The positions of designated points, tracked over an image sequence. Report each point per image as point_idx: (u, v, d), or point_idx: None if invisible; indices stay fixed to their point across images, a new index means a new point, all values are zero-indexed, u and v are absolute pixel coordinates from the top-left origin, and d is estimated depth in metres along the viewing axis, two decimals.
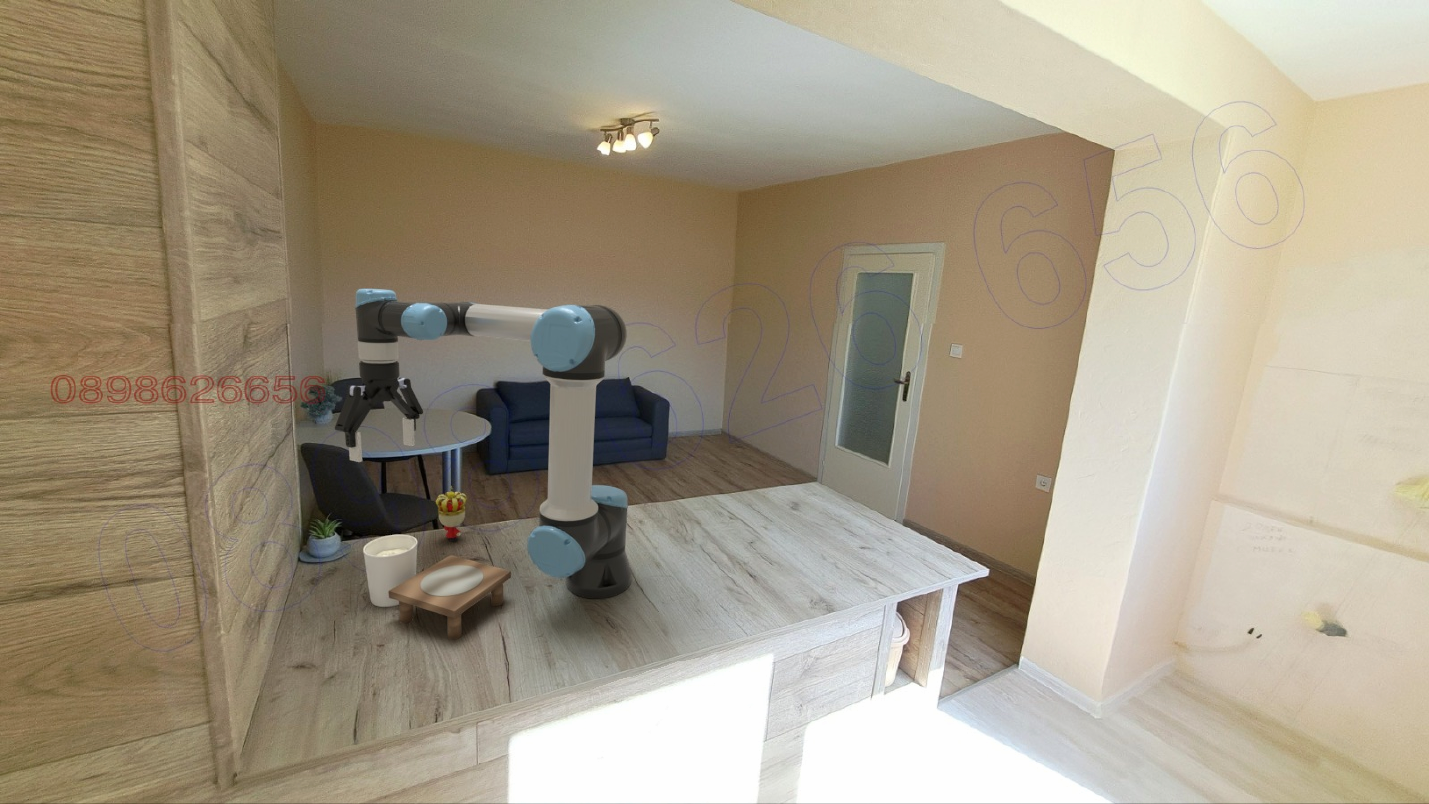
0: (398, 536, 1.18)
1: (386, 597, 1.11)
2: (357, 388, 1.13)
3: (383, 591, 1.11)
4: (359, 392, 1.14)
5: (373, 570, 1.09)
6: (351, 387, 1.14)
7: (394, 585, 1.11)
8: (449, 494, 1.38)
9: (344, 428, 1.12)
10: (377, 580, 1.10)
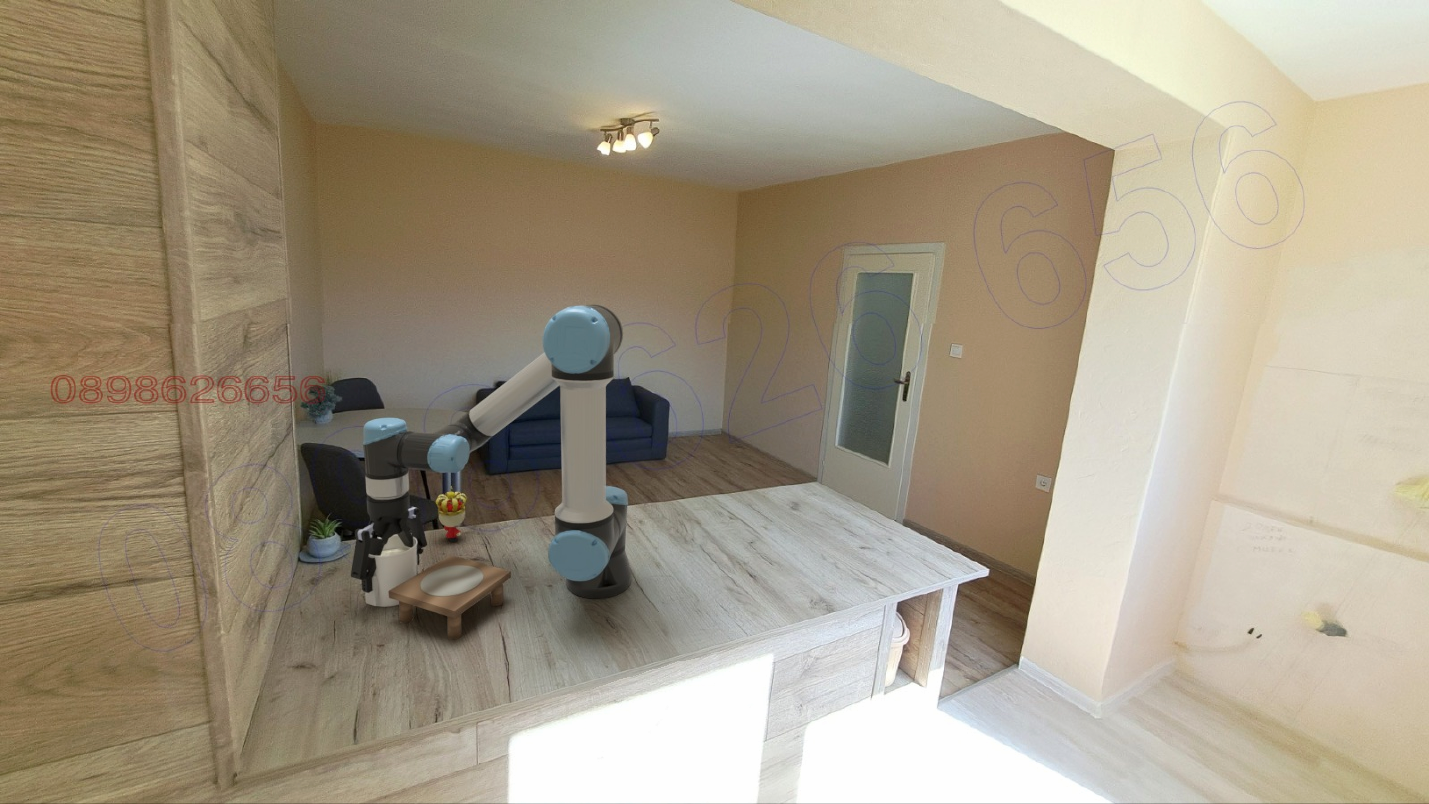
0: (398, 536, 1.18)
1: (386, 597, 1.11)
2: (365, 533, 1.06)
3: (383, 591, 1.11)
4: (368, 536, 1.06)
5: None
6: (358, 532, 1.06)
7: (394, 585, 1.11)
8: (449, 494, 1.38)
9: (360, 576, 1.06)
10: None
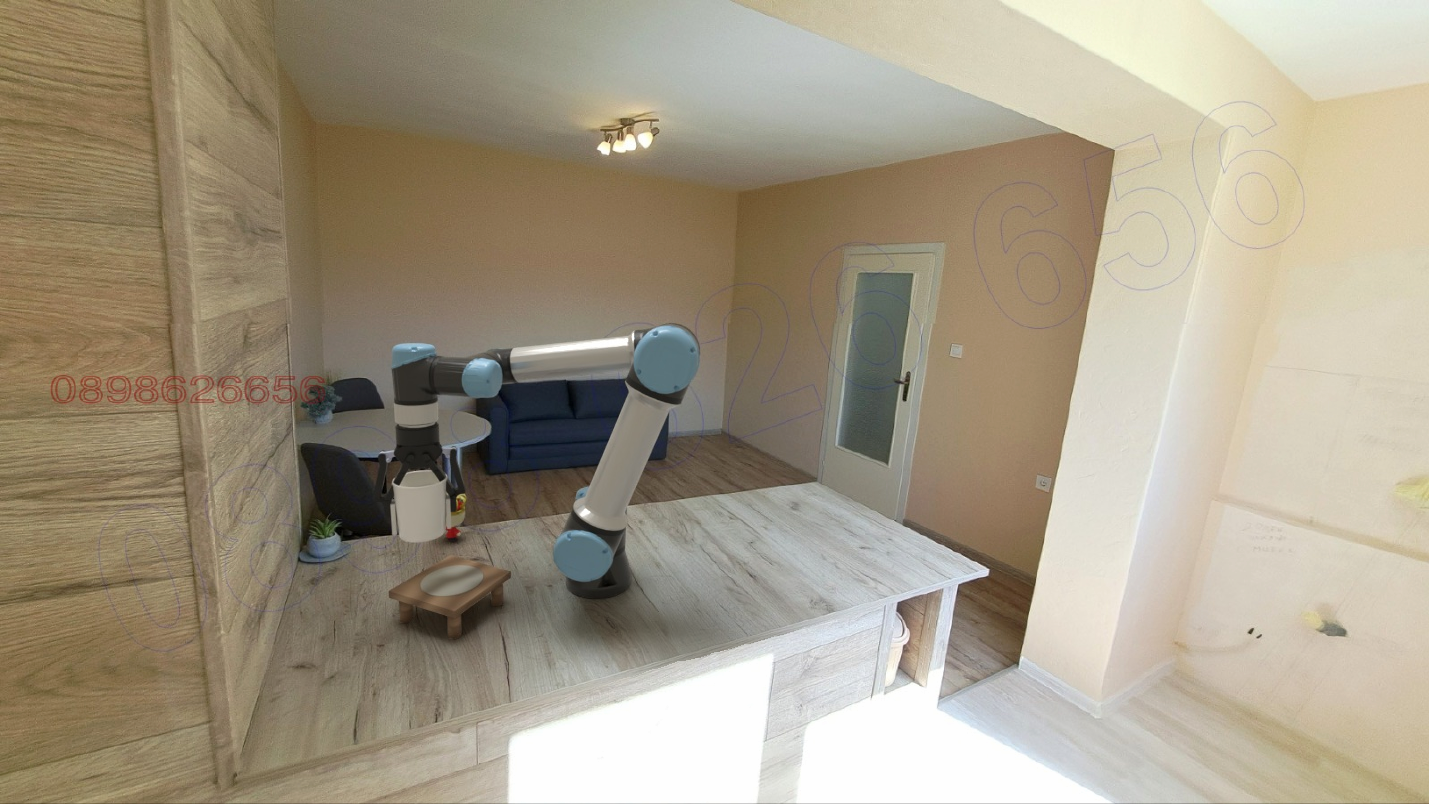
0: None
1: (401, 530, 1.06)
2: (379, 456, 1.03)
3: (399, 522, 1.06)
4: (383, 459, 1.03)
5: (394, 497, 1.06)
6: (379, 454, 1.04)
7: (405, 519, 1.05)
8: None
9: (373, 498, 1.04)
10: None
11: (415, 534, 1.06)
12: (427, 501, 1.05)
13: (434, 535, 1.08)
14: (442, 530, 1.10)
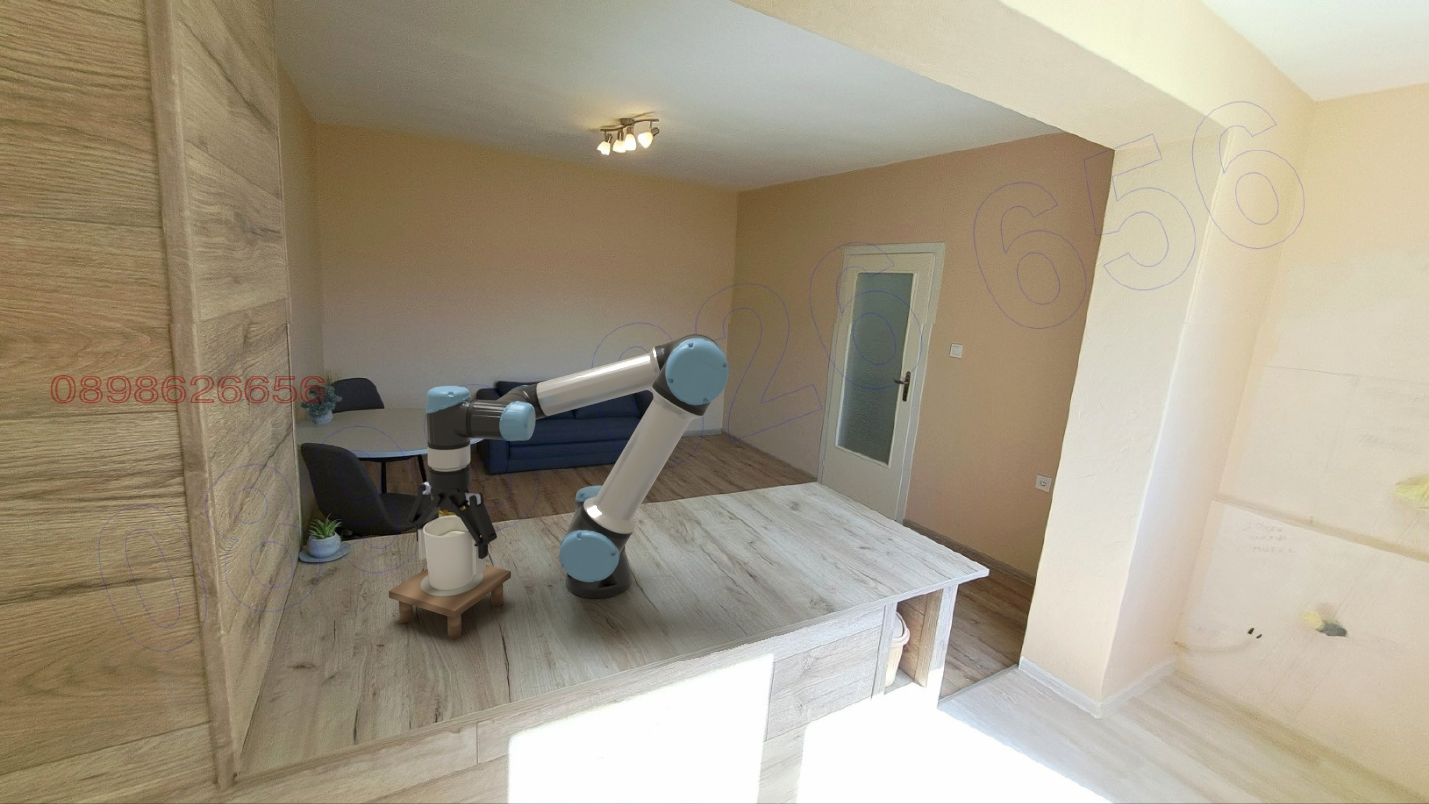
0: None
1: None
2: (419, 486, 1.07)
3: None
4: (421, 490, 1.07)
5: None
6: None
7: (427, 562, 1.07)
8: None
9: (407, 519, 1.10)
10: None
11: (431, 579, 1.07)
12: (438, 551, 1.04)
13: (447, 586, 1.07)
14: (458, 583, 1.08)
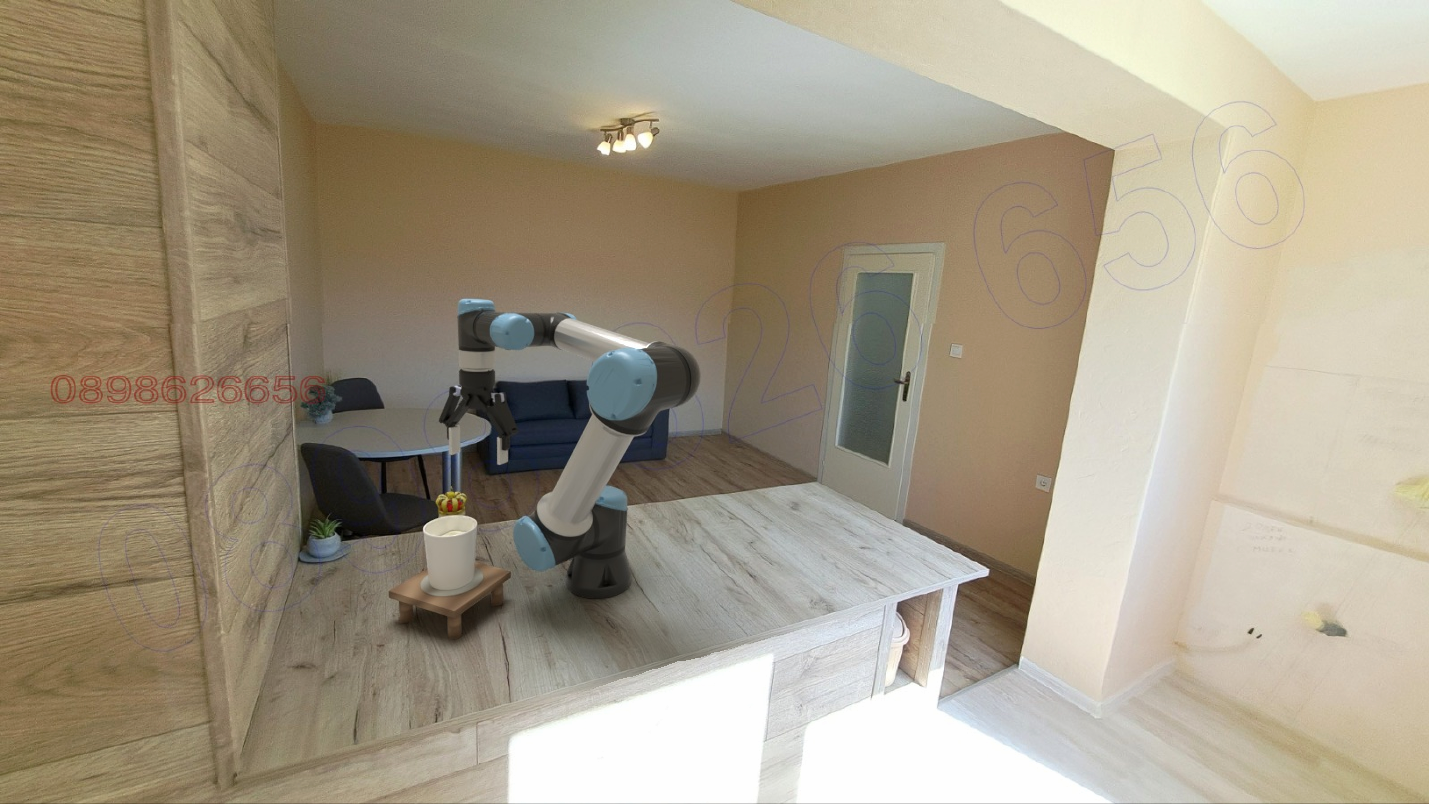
0: None
1: None
2: (450, 388, 1.23)
3: None
4: (452, 392, 1.24)
5: None
6: None
7: (427, 562, 1.07)
8: (449, 494, 1.38)
9: (439, 419, 1.26)
10: None
11: (431, 579, 1.07)
12: (438, 551, 1.04)
13: (447, 586, 1.07)
14: (458, 583, 1.08)
